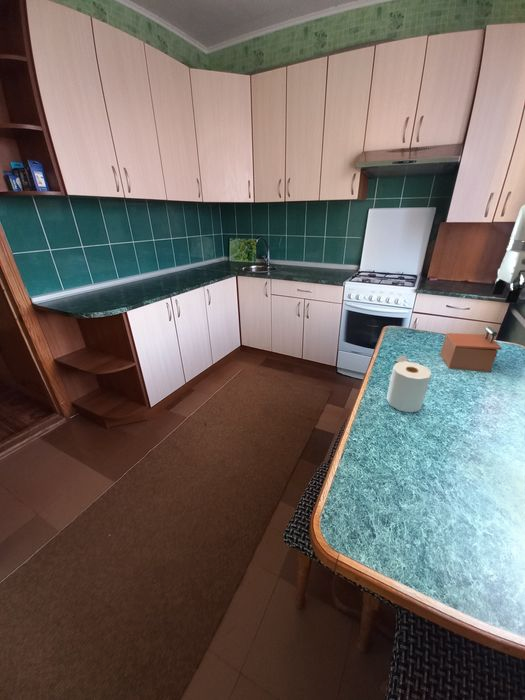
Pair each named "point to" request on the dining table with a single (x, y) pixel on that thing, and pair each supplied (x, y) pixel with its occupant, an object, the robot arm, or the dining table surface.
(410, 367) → the toilet paper
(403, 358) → the spoon
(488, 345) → the brown box lid
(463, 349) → the brown box body
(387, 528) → the dining table surface
